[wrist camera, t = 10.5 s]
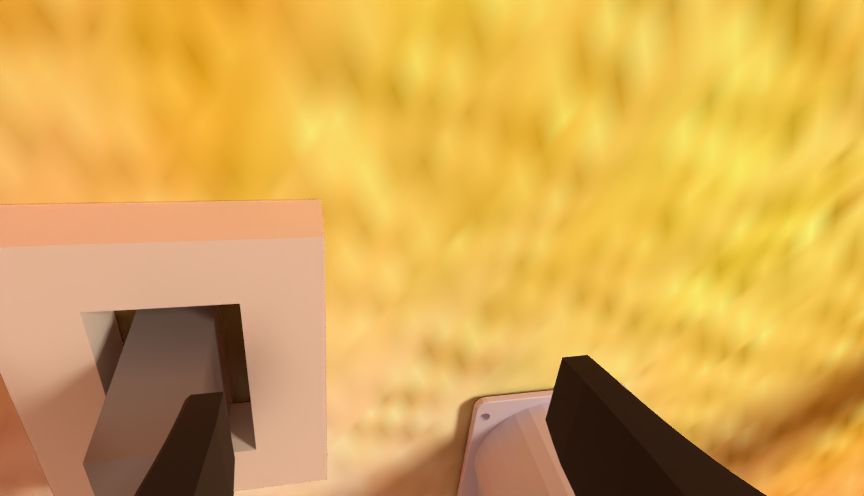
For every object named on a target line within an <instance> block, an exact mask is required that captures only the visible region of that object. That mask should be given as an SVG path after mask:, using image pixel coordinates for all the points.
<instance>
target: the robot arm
mask: <svg viewBox="0 0 864 496" xmlns="http://www.w3.org/2000/svg"><path fill="white" fill-rule="evenodd" d="M234 472H235V456H234V450H233V444H232V438H231V432H230V426H229V420H228V415H227V409H226V403H225V397H224V391H223V392H213V393H203V394H193V395H190V396H189V397H187V398H186V399H185V401H184V403H183V406H182V408H181V410H180V412H179V414H178V416H177V418H176V421H175V423H174V425H173V427H172V429H171V431H170V433H169V435H168V436H167V438H166V440H165V442H164V444H163V446H162V448H161V450H160V451H159V453H158V455H157V457H156V459H155V461H154V462H153V464H152V466H151V467H150V469H149V471H148V472H147V474H146V476H145V478H144V479H143V481H142V483H141V484H140V486H139V488H138V490H137V491H136V493H135V495H134V496H233V495H234ZM457 496H766V495H765V494H763V493H762V492H760V491H759V490H757V489H756V488H754V487H753V486H751V485H750V484H748V483H747V482H745V481H744V480H742V479H741V478H739V477H738V476H736V475H735V474H733V473H732V472H730V471H729V470H728V469H726V468H725V467H723V466H722V465H721V464H719V463H718V462H716V461H715V460H714V459H712V458H711V457H710V456H708V455H707V454H706V453H704V452H703V451H702V450H701V449H699V448H698V447H697V446H695V445H694V444H693V443H691V442H690V441H689V440H687V439H686V438H685V437H684V436H682V435H681V434H680V433H679V432H677V431H676V430H675V429H674V428H672V427H671V426H670V425H669V424H667V423H666V422H665V421H664V420H663V419H661V418H660V417H659V416H658V415H657V414H655V413H654V412H653V411H652V410H651V409H649V408H648V407H647V406H646V405H645V404H644V403H642V402H641V401H640V400H639V399H638V398H637V397H635V396H634V395H633V394H632V393H631V392H630V391H628V390H627V388H626V387H625V385H623V384H620V383H619V382H618V381H617V380H616V379H615V378H614V377H612V376H611V375H610V374H609V373H608V372H607V371H606V370H604V369H603V368H602V367H601V366H600V365H599V364H597V363H596V362H595V361H594V360H593V359H591V358H590V357H589V356H588V355H584V356H574V357H564V358H562V361H561V365H560V368H559V372H558V376H557V379H556V383H555V386H554V390H548V391H539V392H529V393H519V394H509V395H499V396H490V397H483V398H480V399H478V400H477V401H476V402H475V405H474V409H473V414H472V419H471V424H470V430H469V435H468V440H467V445H466V451H465V456H464V461H463V466H462V472H461V477H460V482H459V487H458V493H457Z"/></svg>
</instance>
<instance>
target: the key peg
mask: <svg viewBox="0 0 864 496" xmlns="http://www.w3.org/2000/svg"><path fill="white" fill-rule="evenodd" d="M223 391H224V397H225V403H226V409H227V415H228V420H229V417H230V408H231V399H232V388H231V381H230V373H229V366H228V359H227V351H226V344H225V337H224V330H223V322H222V315H221V308H220V305H205V306H187V307H170V308H152V309H137V310H136V313H135V316H134V318H133V321H132V324H131V327H130V330H129V333H128V336H127V338H126V341H125V344H124V347H123V350H122V353H121V355H120V358H119V361H118V364H117V367H116V370H115V373H114V375H113V378H112V381H111V384H110V387H109V390H108V392H107V395H106V398H105V401H104V404H103V407H102V410H101V412H100V415H99V418H98V421H97V424H96V427H95V429H94V432H93V435H92V438H91V441H90V444H89V447H88V449H87V452H86V455H85V458H84V461H83V466H84V469H85V471H86V474H87V477H88V479H89V482H90V485H91V487H92V490H93V493H94V496H134V495H135V493H136V491H137V490H138V488H139V486H140V484H141V483H142V481H143V479H144V478H145V476H146V474H147V472H148V471H149V469H150V467H151V466H152V464H153V462H154V461H155V459H156V457H157V455H158V453H159V451H160V450H161V448H162V446H163V444H164V442H165V440H166V438H167V436H168V435H169V433H170V431H171V429H172V427H173V425H174V423H175V421H176V418H177V416H178V414H179V412H180V410H181V408H182V406H183V403H184V401H185V399H186V398H187V397H189V396H190V395H193V394H203V393H213V392H223Z"/></svg>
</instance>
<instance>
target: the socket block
mask: <svg viewBox="0 0 864 496" xmlns="http://www.w3.org/2000/svg"><path fill="white" fill-rule="evenodd" d="M223 304H240V310H241V319H242V327H243V336H244V345H245V354H246V363H247V372H248V380H249V389H250V398H251V402H244V403H233V404H231V408H230V417H229V426H230V432H231V438H232V444H233V450H234V456H235V472H234V491H240V490H248V489H256V488H264V487H271V486H279V485H287V484H295V483H302V482H310V481H318V480H326V479H327V409H326V318H325V236H324V226H323V217H322V207H321V199H316V200H256V201H196V202H135V203H75V204H14V205H0V374H1V376H2V378H3V381H4V383H5V385H6V388H7V390H8V392H9V394H10V397H11V399H12V401H13V404H14V406H15V408H16V410H17V413H18V415H19V417H20V420H21V422H22V424H23V427H24V429H25V431H26V433H27V436H28V438H29V440H30V443H31V445H32V447H33V449H34V452H35V454H36V456H37V459H38V461H39V463H40V465H41V468H42V470H43V472H44V475H45V477H46V479H47V482H48V484H49V486H50V488H51V491H52V493H53V495H54V496H94V493H93V490H92V487H91V485H90V482H89V479H88V477H87V474H86V471H85V469H84V466H83V461H84V458H85V455H86V452H87V449H88V447H89V444H90V441H91V438H92V435H93V432H94V429H95V427H96V424H97V421H98V418H99V415H100V412H101V410H102V407H103V404H104V401H105V398H106V395H107V392H108V390H109V387H110V384H111V381H112V378H113V375H114V373H115V370H116V367H117V364H118V361H119V358H120V355H121V353H122V350H123V347H124V346H123V342H122V339H121V335H120V331H119V327H118V324H117V320H116V316H115V312H114V311H117V310H134V309H152V308H170V307H187V306H205V305H223Z"/></svg>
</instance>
